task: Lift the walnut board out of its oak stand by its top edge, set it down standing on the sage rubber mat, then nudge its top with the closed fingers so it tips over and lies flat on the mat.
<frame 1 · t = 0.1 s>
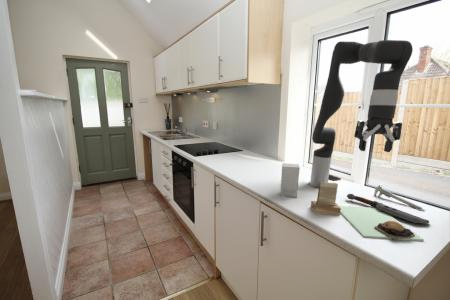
hand: (374, 151, 78), 29 cm above the countertop, fingers open, 8 cm apart
bread roll: (393, 232, 80), resting on mat
board: (326, 196, 95), in the stand
knife: (383, 209, 98), on the countertop, touching mat
caliper: (397, 203, 108), on the countertop
phone: (327, 177, 145), on the countertop
skincare box: (288, 195, 112), on the countertop
stand: (324, 210, 96), on the countertop
mat: (372, 221, 88), on the countertop
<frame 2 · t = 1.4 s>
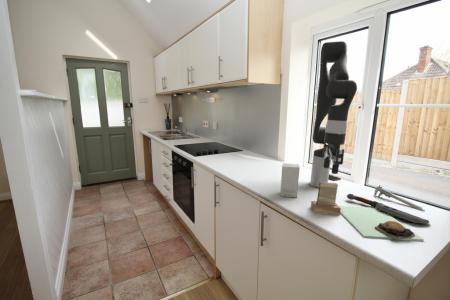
hand: (330, 170, 92), 18 cm above the countertop, fingers open, 8 cm apart
nothing on the countertop moved.
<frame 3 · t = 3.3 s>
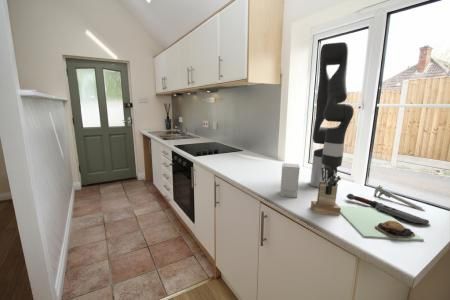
hand: (327, 193, 94), 8 cm above the countertop, fingers closed on board, 1 cm apart
board: (326, 196, 95), in the stand, point 6 cm above the countertop, touching gripper
everything else where it was.
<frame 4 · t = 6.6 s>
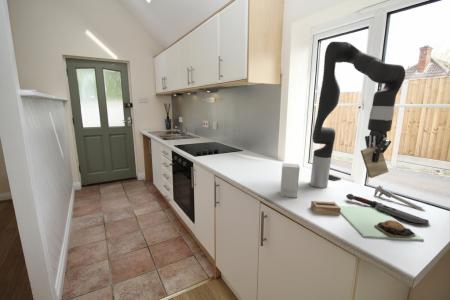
hand: (373, 161, 90), 23 cm above the countertop, fingers closed on board, 1 cm apart
board: (374, 161, 90), point 23 cm above the countertop, tilted 25°, touching gripper
everything else where it was.
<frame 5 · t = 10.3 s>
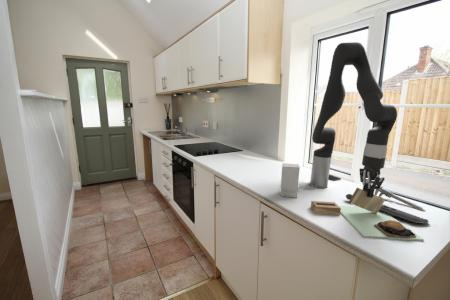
hand: (367, 195, 93), 8 cm above the countertop, fingers closed
board: (366, 200, 93), on the mat, point 6 cm above the countertop, tilted 70°
everything else where it was.
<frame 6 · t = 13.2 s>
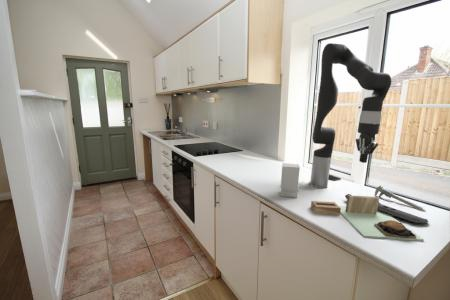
hand: (362, 162, 97), 21 cm above the countertop, fingers closed
board: (362, 204, 94), on the mat, point 4 cm above the countertop, tilted 90°
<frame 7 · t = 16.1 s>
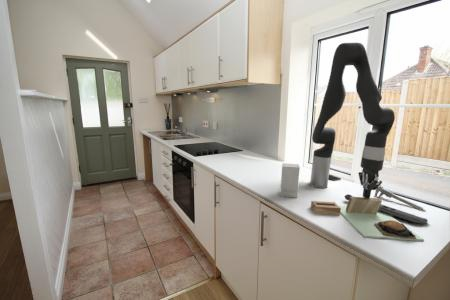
hand: (366, 197, 94), 7 cm above the countertop, fingers closed
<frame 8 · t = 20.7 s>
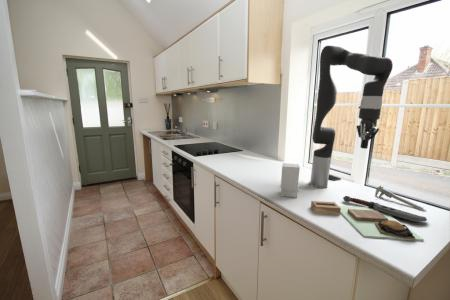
hand: (363, 148, 97), 27 cm above the countertop, fingers closed
board: (367, 215, 90), on the mat, point 1 cm above the countertop, tilted 90°
at the end: board tilted 90°; board inside the target area (5.1 cm from its centre), point 1.4 cm above the countertop; the gripper is holding nothing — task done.
